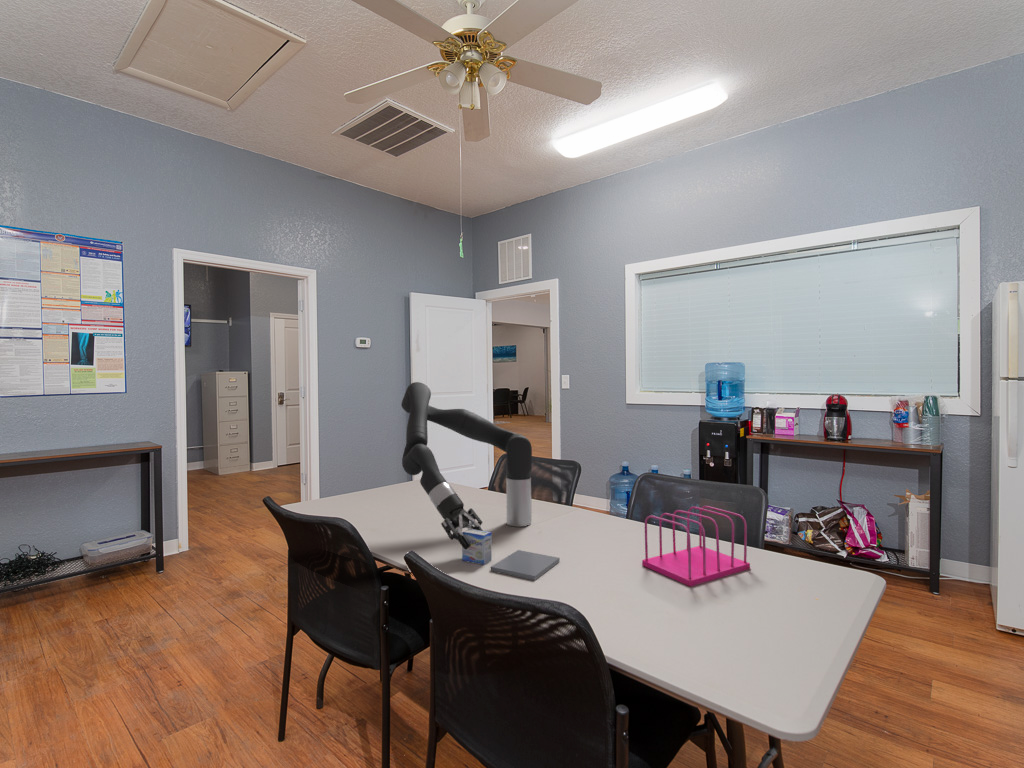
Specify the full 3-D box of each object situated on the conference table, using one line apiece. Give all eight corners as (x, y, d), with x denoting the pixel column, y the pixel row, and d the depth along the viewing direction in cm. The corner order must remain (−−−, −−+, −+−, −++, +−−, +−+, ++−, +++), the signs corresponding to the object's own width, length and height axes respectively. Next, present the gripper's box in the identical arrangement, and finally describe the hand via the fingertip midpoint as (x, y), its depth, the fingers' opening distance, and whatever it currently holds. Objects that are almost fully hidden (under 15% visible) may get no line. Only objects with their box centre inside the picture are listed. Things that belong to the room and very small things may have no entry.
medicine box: (461, 560, 150) (461, 531, 150) (469, 556, 154) (469, 528, 154) (484, 565, 146) (484, 535, 146) (492, 560, 150) (492, 531, 150)
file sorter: (641, 566, 145) (641, 512, 145) (700, 551, 158) (700, 501, 158) (690, 587, 130) (690, 527, 130) (750, 569, 143) (750, 514, 143)
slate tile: (518, 553, 156) (518, 550, 156) (559, 561, 149) (559, 557, 149) (490, 570, 142) (490, 566, 142) (534, 580, 135) (534, 576, 135)
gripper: (452, 502, 163) (482, 543, 158) (424, 513, 151) (455, 558, 145) (466, 488, 160) (496, 529, 155) (438, 497, 148) (470, 543, 143)
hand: (476, 543), depth 150 cm, fingers open, 8 cm apart
